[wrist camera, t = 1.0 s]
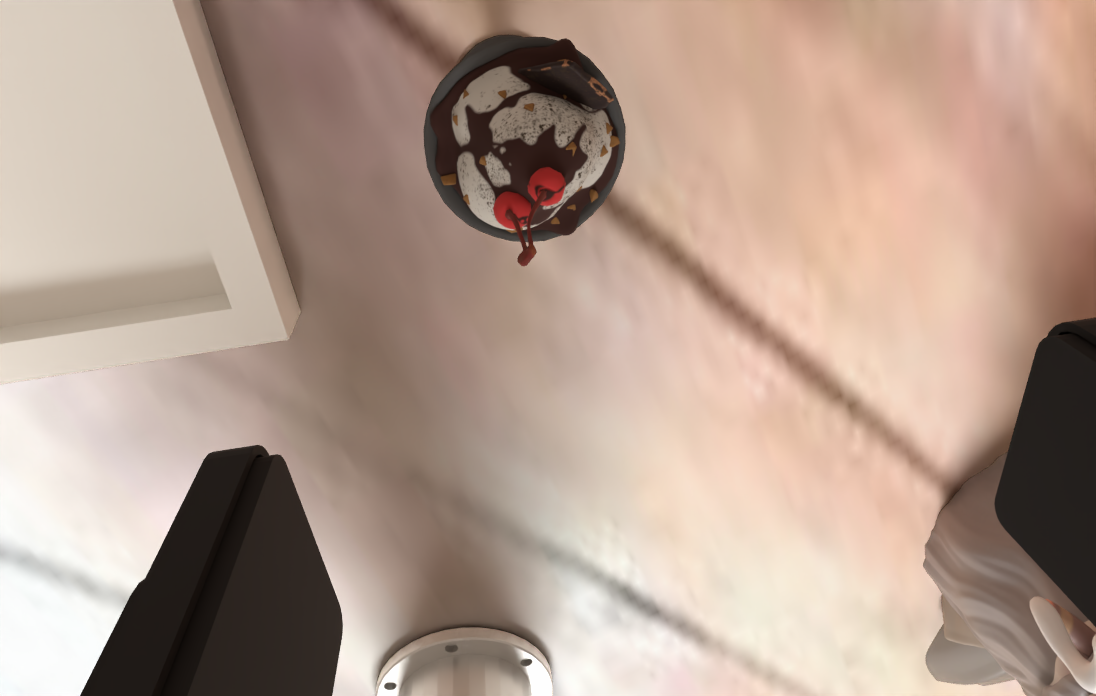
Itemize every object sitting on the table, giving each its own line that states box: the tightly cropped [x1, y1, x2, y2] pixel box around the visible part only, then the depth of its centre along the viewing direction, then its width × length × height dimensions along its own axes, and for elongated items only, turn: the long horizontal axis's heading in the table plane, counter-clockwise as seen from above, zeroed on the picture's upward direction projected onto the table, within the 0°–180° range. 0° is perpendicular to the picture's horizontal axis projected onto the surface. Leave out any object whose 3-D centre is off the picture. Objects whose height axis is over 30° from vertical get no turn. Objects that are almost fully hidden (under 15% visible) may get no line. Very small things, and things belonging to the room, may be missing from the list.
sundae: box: [424, 35, 625, 266], centre depth 26 cm, size 7×7×15 cm
